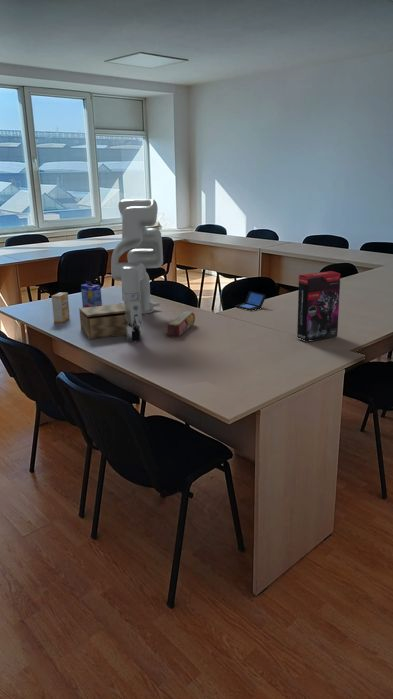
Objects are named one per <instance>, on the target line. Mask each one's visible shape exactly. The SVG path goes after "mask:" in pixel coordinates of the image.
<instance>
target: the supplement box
mask: <svg viewBox="0 0 393 699" xmlns="http://www.w3.org/2000/svg"><path fill="white" fill-rule="evenodd" d="M68 294H69V292H57V293H55V294H52V295H51V304H52V305H51V306H52V314H53V323H65V322H67V320H70V318H71V317H70V304H69V303H70V302H69V295H68Z"/></svg>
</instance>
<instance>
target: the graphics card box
mask: <svg viewBox="0 0 393 699" xmlns="http://www.w3.org/2000/svg"><path fill="white" fill-rule="evenodd" d="M340 289H341V273H340V272H336V271H333V270H329V271H322V272H321V271H320V272H313V273H303V274H299V275H298V290H297V291H298V295H297V296H298V297H297V299H298V300H297V302H298V304H297V328H296V329H297V330H296V333H297V335H296V338H297V337H298V338H301V339H303V340H305V341H309V340H315V341H319V340H323V339H330V338H334V337H338V334H339V333H338V330H339V314H340V311H339V309H340Z"/></svg>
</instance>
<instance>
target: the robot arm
mask: <svg viewBox="0 0 393 699" xmlns="http://www.w3.org/2000/svg"><path fill="white" fill-rule="evenodd" d="M117 207H118V210H119V213H120V214H121V217H122V220H121V222H122V223H121V224H122V229H121V237H122V238H121V241H120V242H119V243H118V244H117V245H116V246H115V247H114V249H113V251H112V254H111V264H110V265H111V266H110V268H111V269H110V271H111V272H110V274H111V278H112V279H113V280H114V281H117V282H121V296H122V301H123V302H124V303H123V304H124V310H125V319H126V321H127V325H129V324H131V325H132V330H133V331H132V340H133V341H135V340H140V331H141V325H142V323H143V316H142V315H145V314H150V313H153V312H154V311H155V307H157V308H158V307H160V305H161V303H160V302H152V301H151V286H150V284H151V283H150V276H149V274H148V272H147V269H158V268H161V267H162V266H163V264H164V254H163V253H164V251H163V250H164V249H163V239H162V238H163V237H162V232H161V230H159V229H158V228H154V227H153V226H155V225H156V222H157V219H158V203H157V202H156V200H155V199H152V198H125V199H124V198H123V199H121V200H120V201H119V202H118V206H117ZM126 252H127V258H126V259H127V262H119V260H120V257H122V255H123V254H124V253H126ZM134 323H136V324H134ZM134 325H136V326H135V327H134ZM139 326H140V327H139ZM139 328H140V329H139ZM140 341H141V340H140Z"/></svg>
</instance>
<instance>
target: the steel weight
mask: <svg viewBox="0 0 393 699" xmlns="http://www.w3.org/2000/svg"><path fill="white" fill-rule="evenodd" d="M135 326H136V325H134V327H135ZM139 327H140V328H139V329H140V340H135V341H136V342H139V341H141V340H142V334H141V325H140V326H139ZM132 331H133V330H132V325H131V324H129V325H126V335H125V336H126V341H127V342H132V343H133V342H134V343H135V341H133V340H132Z"/></svg>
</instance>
